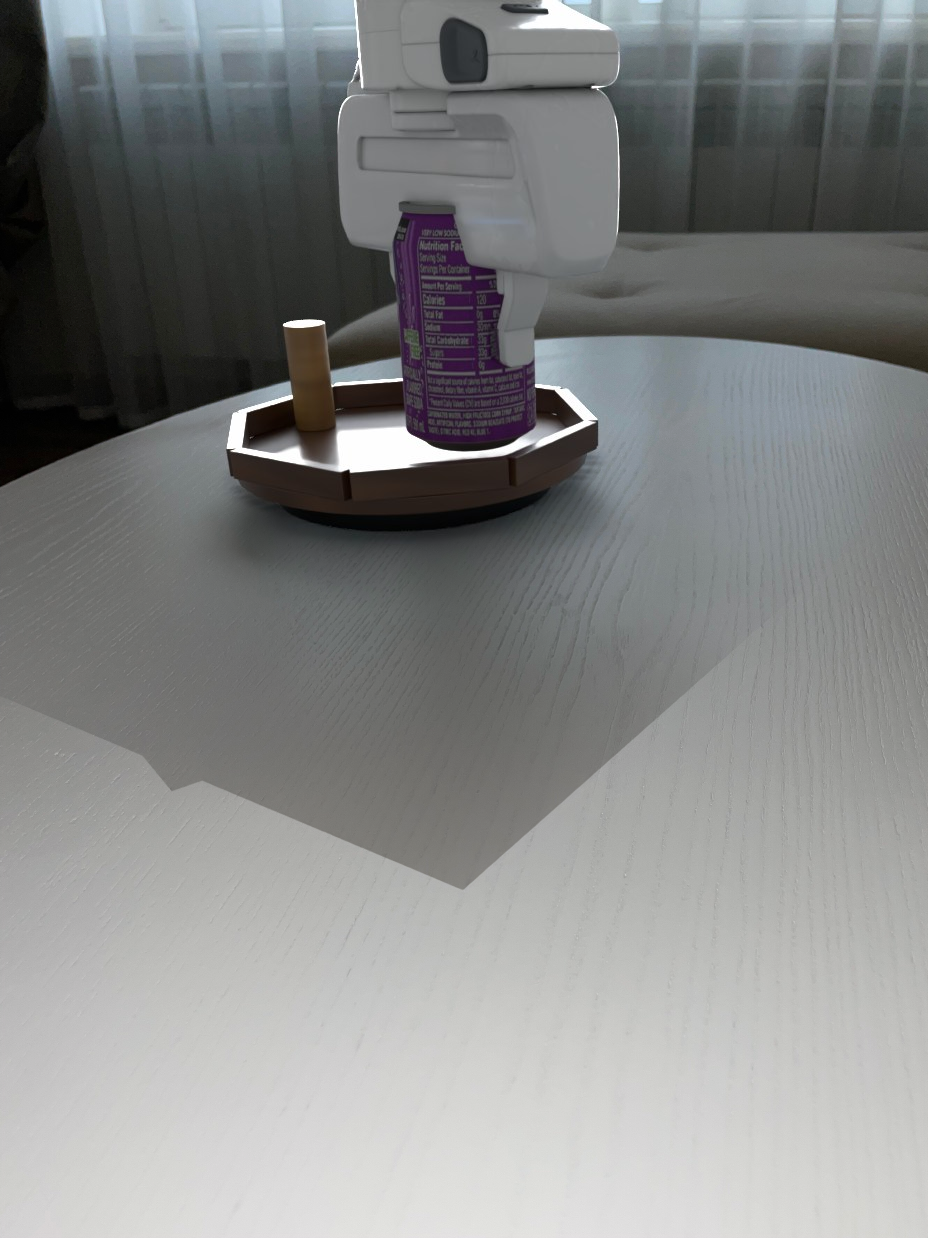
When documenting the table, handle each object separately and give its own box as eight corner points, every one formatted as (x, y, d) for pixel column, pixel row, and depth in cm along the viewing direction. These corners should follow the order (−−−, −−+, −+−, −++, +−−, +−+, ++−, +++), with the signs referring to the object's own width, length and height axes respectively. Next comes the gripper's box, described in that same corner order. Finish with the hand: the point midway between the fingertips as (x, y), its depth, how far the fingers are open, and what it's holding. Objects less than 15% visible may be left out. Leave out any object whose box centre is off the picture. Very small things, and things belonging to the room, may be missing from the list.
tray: (649, 438, 66) (653, 317, 62) (443, 541, 51) (433, 391, 48) (392, 401, 76) (383, 295, 72) (160, 478, 61) (135, 351, 58)
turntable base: (232, 481, 66) (228, 456, 65) (457, 433, 74) (455, 411, 73) (359, 555, 54) (356, 526, 54) (609, 489, 62) (609, 463, 62)
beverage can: (479, 416, 65) (469, 193, 59) (563, 438, 60) (560, 198, 55) (381, 440, 61) (360, 203, 55) (463, 466, 56) (449, 209, 50)
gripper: (294, 58, 57) (325, 333, 64) (524, 35, 43) (532, 395, 49) (400, 57, 61) (418, 319, 67) (646, 35, 46) (639, 374, 53)
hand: (468, 352), depth 58 cm, fingers closed on beverage can, 7 cm apart
